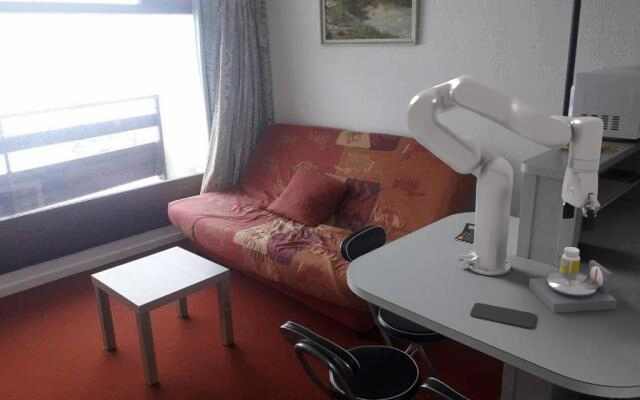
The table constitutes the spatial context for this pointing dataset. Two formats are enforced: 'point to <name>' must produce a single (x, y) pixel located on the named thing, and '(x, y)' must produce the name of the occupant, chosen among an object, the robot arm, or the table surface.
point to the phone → (503, 315)
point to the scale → (577, 303)
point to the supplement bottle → (570, 260)
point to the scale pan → (572, 284)
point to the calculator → (467, 233)
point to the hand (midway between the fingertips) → (577, 224)
